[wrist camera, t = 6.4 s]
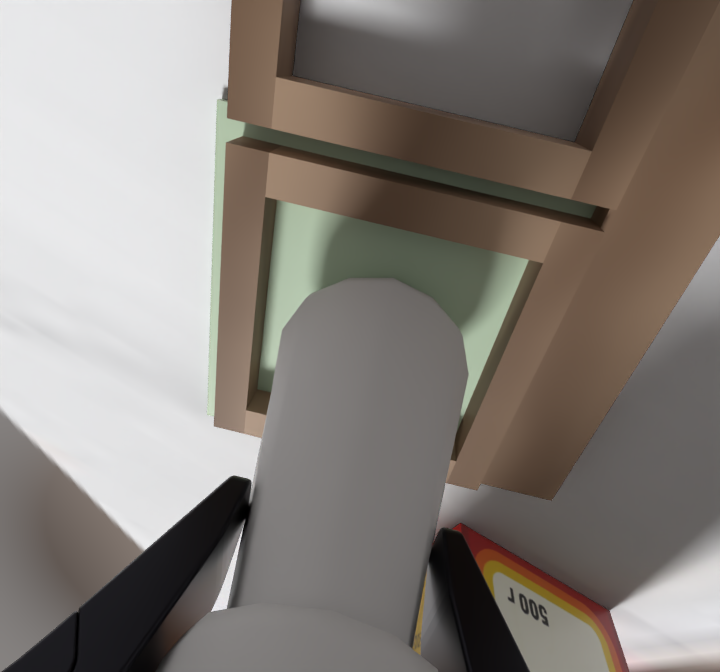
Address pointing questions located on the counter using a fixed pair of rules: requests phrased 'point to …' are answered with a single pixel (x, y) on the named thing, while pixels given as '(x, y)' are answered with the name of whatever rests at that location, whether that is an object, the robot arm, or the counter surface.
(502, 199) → the frame
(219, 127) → the card
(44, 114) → the counter surface
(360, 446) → the salt shaker
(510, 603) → the baking soda box
